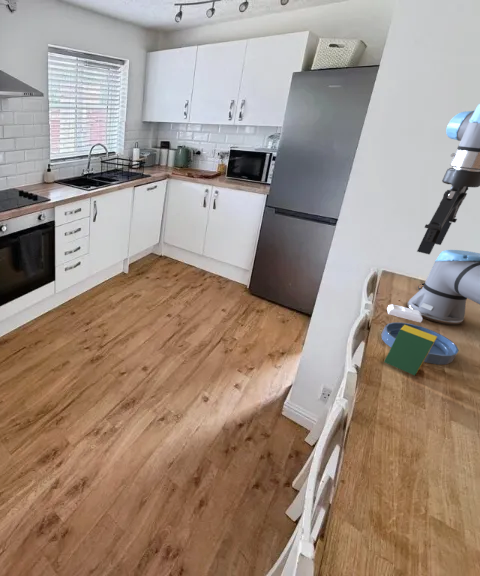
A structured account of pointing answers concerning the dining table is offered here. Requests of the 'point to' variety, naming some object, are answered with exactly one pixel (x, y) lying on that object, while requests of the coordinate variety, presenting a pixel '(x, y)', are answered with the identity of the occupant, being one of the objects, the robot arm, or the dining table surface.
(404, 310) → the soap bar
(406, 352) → the sponge
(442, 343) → the bowl
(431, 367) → the dining table surface
